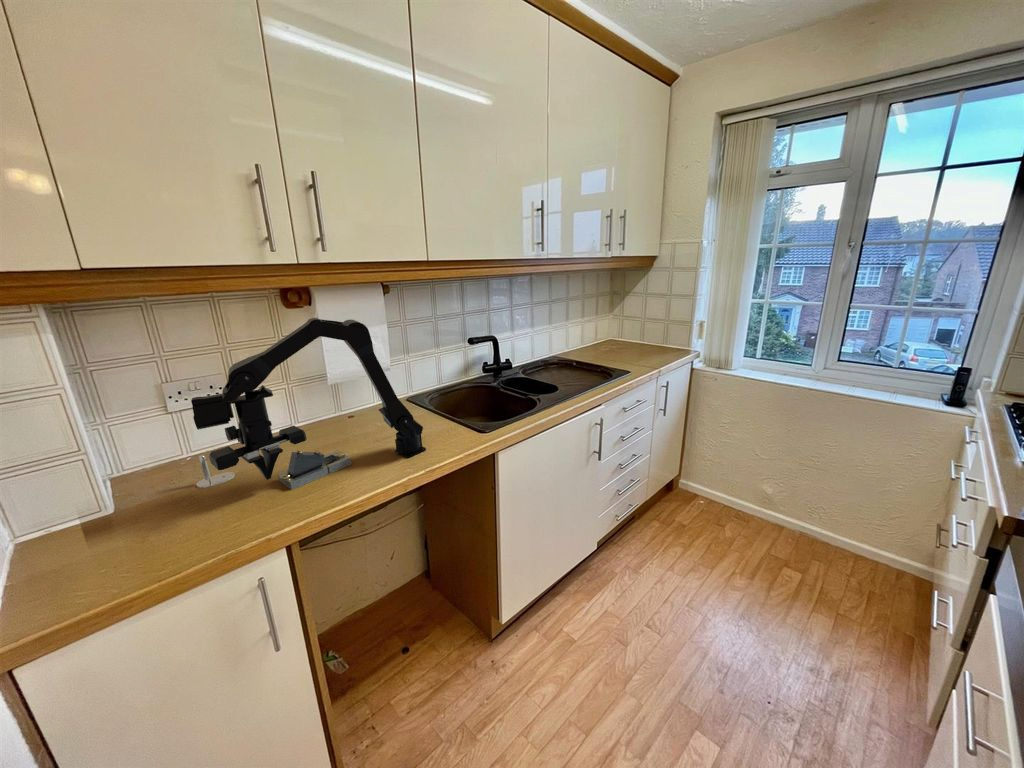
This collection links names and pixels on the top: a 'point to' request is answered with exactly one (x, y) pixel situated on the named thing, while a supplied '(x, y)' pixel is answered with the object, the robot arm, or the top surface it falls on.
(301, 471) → the block with brass studs
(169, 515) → the top surface
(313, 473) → the end link
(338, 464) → the end link
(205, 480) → the stand
